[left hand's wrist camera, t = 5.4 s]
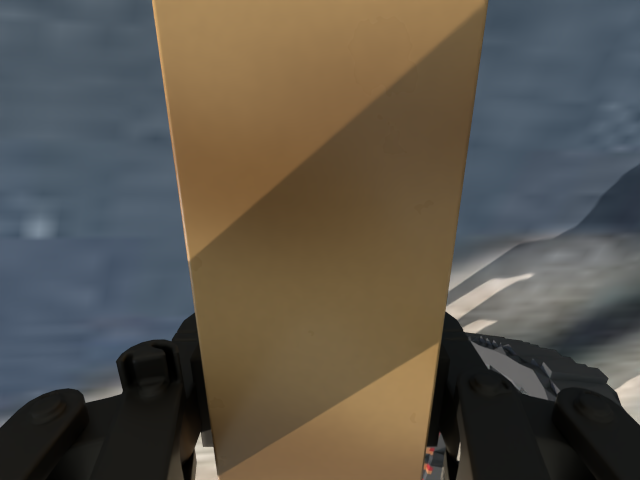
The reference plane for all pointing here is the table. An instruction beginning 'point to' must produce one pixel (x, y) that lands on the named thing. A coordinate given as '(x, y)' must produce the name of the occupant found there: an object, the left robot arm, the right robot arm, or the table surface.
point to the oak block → (320, 220)
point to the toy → (526, 379)
